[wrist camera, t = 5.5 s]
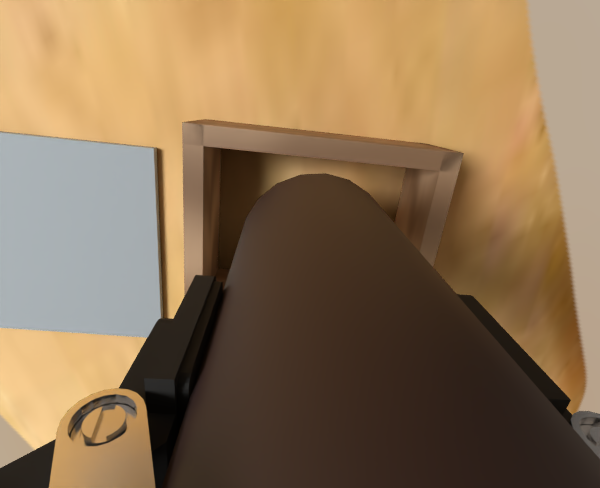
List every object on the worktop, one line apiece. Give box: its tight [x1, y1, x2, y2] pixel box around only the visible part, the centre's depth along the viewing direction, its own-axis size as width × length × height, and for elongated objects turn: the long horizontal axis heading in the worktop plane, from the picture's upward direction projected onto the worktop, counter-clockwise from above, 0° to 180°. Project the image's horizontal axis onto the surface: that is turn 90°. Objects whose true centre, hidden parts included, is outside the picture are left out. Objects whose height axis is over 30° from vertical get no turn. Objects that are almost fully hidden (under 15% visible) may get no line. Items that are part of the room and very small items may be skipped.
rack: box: [182, 119, 464, 295], centre depth 23 cm, size 20×14×5 cm
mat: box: [0, 131, 163, 338], centre depth 24 cm, size 14×14×1 cm
